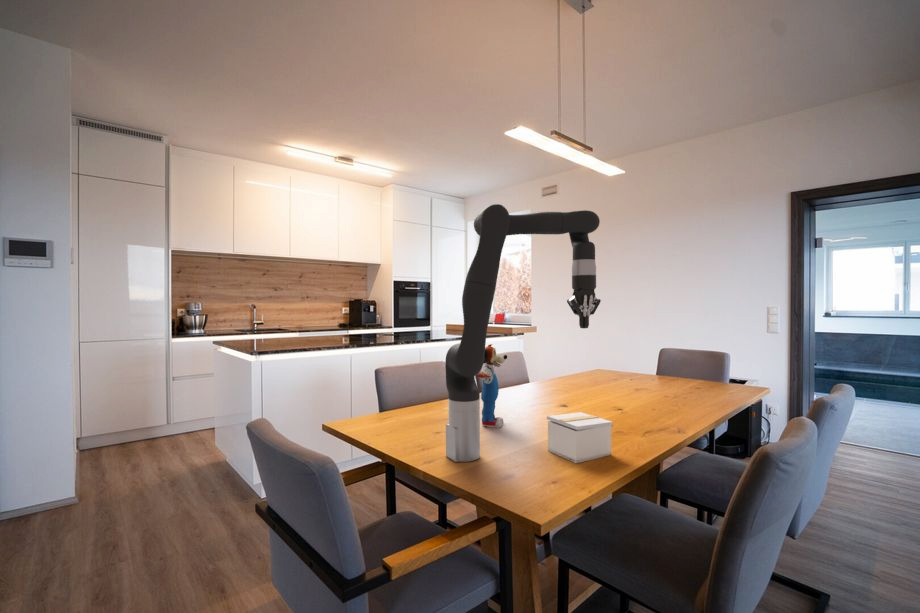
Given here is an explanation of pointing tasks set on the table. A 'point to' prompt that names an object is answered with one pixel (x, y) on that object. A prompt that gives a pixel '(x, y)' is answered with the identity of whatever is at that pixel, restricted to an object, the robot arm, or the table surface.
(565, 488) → the table surface
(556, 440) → the box
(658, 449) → the table surface
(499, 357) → the toy
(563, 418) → the lid
